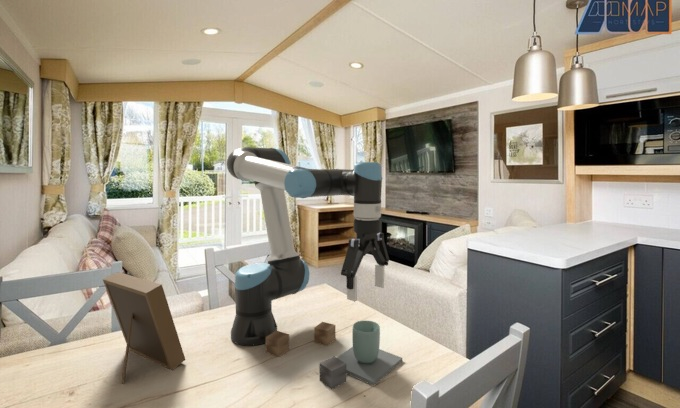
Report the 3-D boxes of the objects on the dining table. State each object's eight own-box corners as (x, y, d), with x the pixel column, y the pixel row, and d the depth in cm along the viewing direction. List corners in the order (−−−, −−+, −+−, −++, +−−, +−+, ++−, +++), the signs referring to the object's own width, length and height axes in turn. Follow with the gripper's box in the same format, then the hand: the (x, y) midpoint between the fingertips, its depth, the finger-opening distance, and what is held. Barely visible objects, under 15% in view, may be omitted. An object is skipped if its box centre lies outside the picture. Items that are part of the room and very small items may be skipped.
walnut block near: (265, 352, 105) (265, 337, 105) (276, 345, 110) (276, 330, 109) (278, 357, 103) (278, 341, 102) (289, 349, 107) (289, 334, 107)
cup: (378, 368, 95) (378, 333, 94) (350, 365, 96) (350, 330, 95) (380, 354, 102) (381, 321, 101) (354, 351, 104) (354, 319, 103)
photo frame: (142, 343, 110) (137, 267, 108) (185, 363, 99) (180, 278, 97) (89, 366, 98) (82, 280, 95) (132, 391, 87) (125, 295, 84)
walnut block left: (314, 342, 112) (314, 327, 111) (322, 336, 116) (322, 321, 116) (327, 346, 109) (327, 331, 109) (335, 339, 114) (335, 324, 113)
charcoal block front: (319, 380, 91) (319, 362, 91) (334, 373, 94) (334, 356, 94) (331, 389, 87) (331, 371, 87) (346, 382, 91) (346, 363, 90)
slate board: (329, 365, 98) (329, 362, 98) (360, 344, 110) (360, 341, 110) (373, 385, 89) (373, 382, 89) (402, 361, 101) (402, 357, 100)
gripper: (350, 225, 83) (350, 310, 86) (401, 215, 103) (400, 284, 105) (327, 222, 88) (327, 302, 90) (380, 213, 108) (379, 279, 110)
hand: (366, 293), depth 98 cm, fingers open, 13 cm apart
